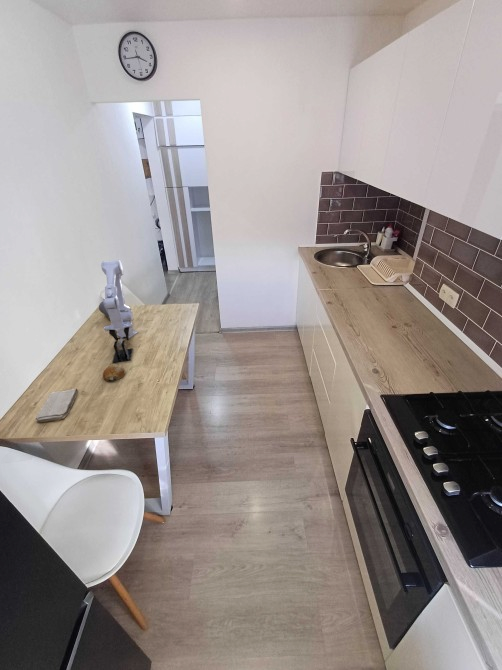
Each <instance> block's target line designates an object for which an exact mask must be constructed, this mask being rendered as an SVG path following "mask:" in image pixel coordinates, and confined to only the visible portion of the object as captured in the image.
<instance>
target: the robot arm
mask: <svg viewBox="0 0 502 670" xmlns="http://www.w3.org/2000/svg"><path fill="white" fill-rule="evenodd" d="M100 263H101V264H100V267H101V271H102V272H103V273H104V275H105V276H106V277H105V278H106V286H105V287H104V299H103V301H102V302H103V303H104V307H105V309H106V311H107V313H108V314H109V317H110V318H109V317H108V318H109V320H110V323H111V324H110V325H106V326H104V327H103V331H104V332H108V334H109V335H110V336H111V337H112V338H113V339H114V340H115V342H116V341H117V343H119V339H118V340H117V338H120V337H126V338H125V339H126V341H129V339H130V338H132V337H134V336H135V335H137V334H138V331H136V330H135V329H134V324H133V322H132V321H133V320H134V315H133V311H132V308H131V307H130V306H129V305H126V301H125V296H124V295H125V294H124V290H123V284H122V276H123V275H124V268H123V263H122V261H121V260H120V259H118V260H117V259H116V260H107V261H102V262H100ZM121 310H125V311H121Z"/></svg>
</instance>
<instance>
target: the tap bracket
mask: <svg viewBox="0 0 502 670" xmlns="http://www.w3.org/2000/svg"><path fill="white" fill-rule="evenodd" d="M117 344H118V342H117V341H116V340H115V341H114V343H113V349H114V355H113V360H112V364H119V363H125V362H131V361H132V356H133V351H134V348H132V347H130V348H128V346H127V344H126V340H124V339H123V341H122V348H123V349H119V350H118V348H117Z"/></svg>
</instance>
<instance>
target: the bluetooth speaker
mask: <svg viewBox="0 0 502 670" xmlns="http://www.w3.org/2000/svg"><path fill="white" fill-rule="evenodd" d="M98 310H99V311H100V313H101V314H103V315H104V316H106V317H107V318H108V319H110V317H109V314H108V313H107V311H106V309H105V307H104V303H103V301H101V302H100V303H99V305H98ZM121 311H126V310H121Z"/></svg>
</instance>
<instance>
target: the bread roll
mask: <svg viewBox="0 0 502 670" xmlns="http://www.w3.org/2000/svg"><path fill="white" fill-rule="evenodd" d="M125 373H126V372H125V369H124V367H123V366H122V365H120V364H119V363H110V364H108V365H107V366H106V367H105V368H104V369H103V372H102V377H103V380H104V381H105V382H108V383H113V382H116V381H120V379H122V378H123V377H124V376H125Z"/></svg>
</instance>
